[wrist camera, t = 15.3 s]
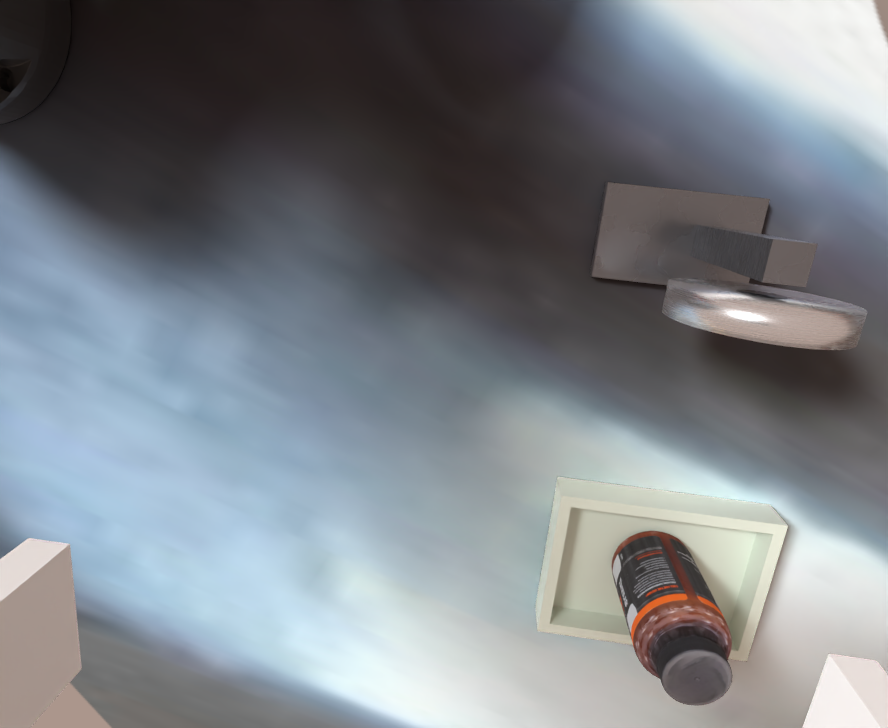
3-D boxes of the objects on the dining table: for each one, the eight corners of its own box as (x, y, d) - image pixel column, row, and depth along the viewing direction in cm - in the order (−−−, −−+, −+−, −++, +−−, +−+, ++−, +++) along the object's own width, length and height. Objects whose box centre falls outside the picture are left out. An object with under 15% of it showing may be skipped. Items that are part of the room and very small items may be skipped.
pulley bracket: (587, 286, 41) (633, 337, 27) (605, 182, 39) (664, 179, 25) (760, 305, 40) (898, 368, 26) (787, 201, 38) (951, 209, 24)
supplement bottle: (593, 566, 46) (621, 684, 35) (644, 512, 44) (691, 617, 33) (654, 608, 46) (701, 736, 36) (707, 556, 45) (773, 673, 34)
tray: (535, 605, 48) (537, 631, 45) (557, 476, 45) (561, 495, 42) (732, 633, 47) (746, 661, 45) (769, 504, 44) (788, 525, 41)
